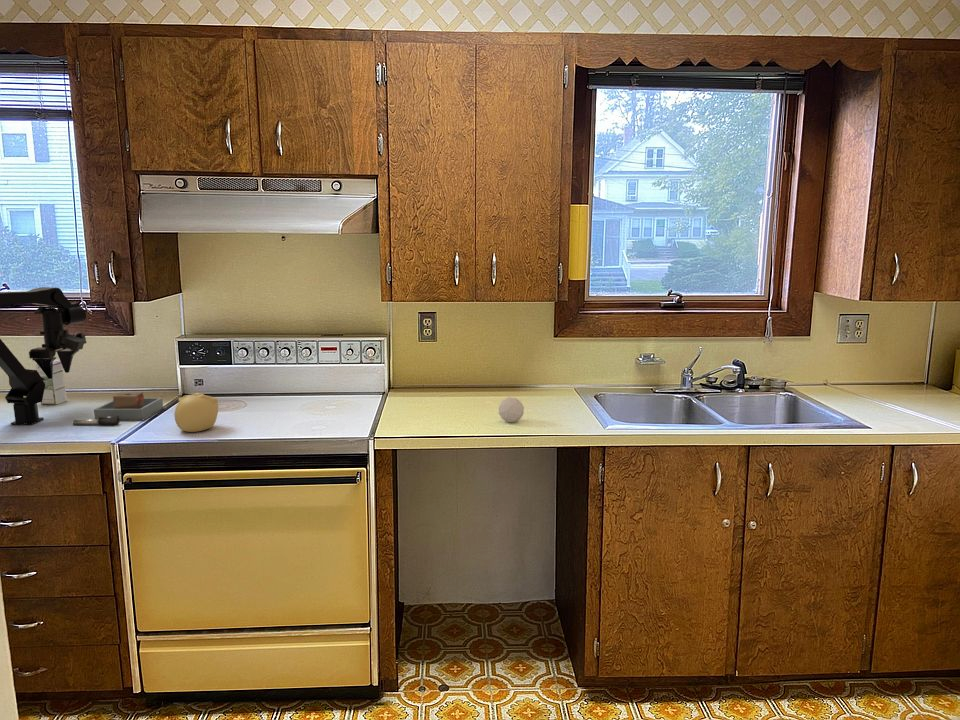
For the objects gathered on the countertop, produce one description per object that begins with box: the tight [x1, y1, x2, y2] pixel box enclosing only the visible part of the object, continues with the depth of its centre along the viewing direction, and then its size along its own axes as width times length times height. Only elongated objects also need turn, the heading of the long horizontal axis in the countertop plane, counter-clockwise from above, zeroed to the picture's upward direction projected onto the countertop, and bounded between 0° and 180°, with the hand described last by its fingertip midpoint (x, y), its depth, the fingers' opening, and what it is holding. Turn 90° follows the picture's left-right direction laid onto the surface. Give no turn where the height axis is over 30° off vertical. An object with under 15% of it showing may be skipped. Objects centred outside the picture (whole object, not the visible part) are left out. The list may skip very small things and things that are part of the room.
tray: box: [93, 397, 164, 421], centre depth 223 cm, size 15×15×4 cm
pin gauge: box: [72, 416, 120, 426], centre depth 212 cm, size 13×3×3 cm, turn 90°
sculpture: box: [174, 392, 219, 433], centre depth 206 cm, size 12×12×11 cm
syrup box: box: [35, 359, 68, 405], centre depth 237 cm, size 6×6×14 cm
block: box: [112, 391, 145, 409], centre depth 223 cm, size 5×7×6 cm
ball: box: [498, 396, 525, 424], centre depth 214 cm, size 8×8×8 cm
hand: (59, 375), depth 224 cm, fingers open, 9 cm apart
